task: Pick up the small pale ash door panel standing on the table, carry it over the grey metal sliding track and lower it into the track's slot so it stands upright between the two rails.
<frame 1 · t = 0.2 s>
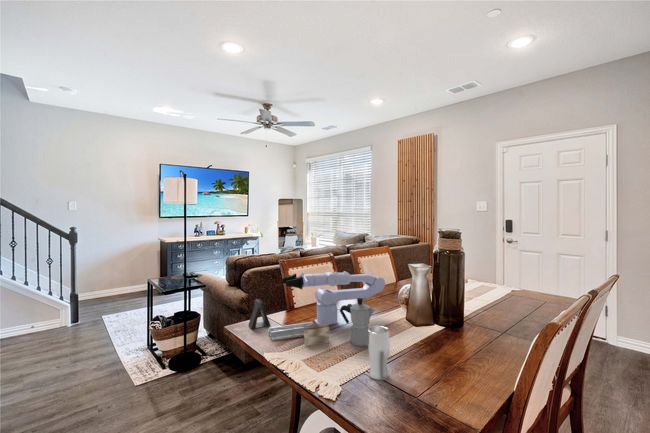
hand: (284, 282, 137), 21 cm above the table, tool horizontal, fingers open, 7 cm apart
track: (292, 333, 132), on the table
coffee maker: (357, 342, 123), on the table
door panel: (316, 343, 122), on the table
beer glass: (378, 375, 98), on the table
phone stand: (259, 326, 142), on the table
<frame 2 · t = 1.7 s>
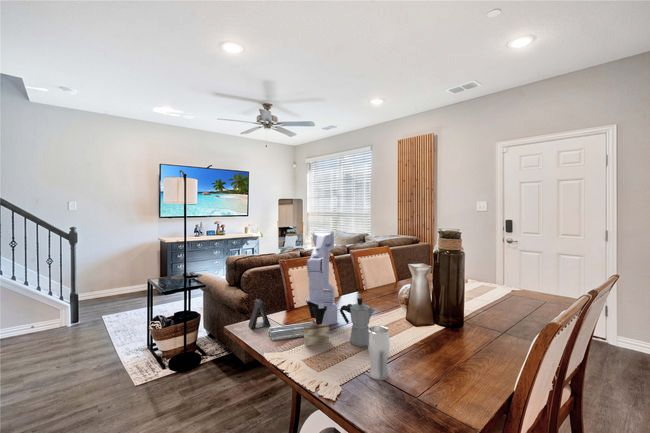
hand: (316, 320, 122), 9 cm above the table, tool pointing down, fingers open, 7 cm apart
nothing on the table moved.
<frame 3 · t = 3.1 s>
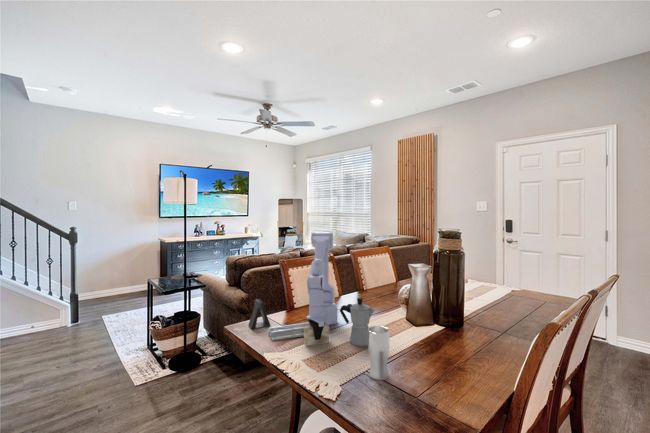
hand: (316, 337, 122), 2 cm above the table, tool pointing down, fingers closed on door panel, 2 cm apart
door panel: (316, 342, 122), on the table, touching gripper
everything else where it was.
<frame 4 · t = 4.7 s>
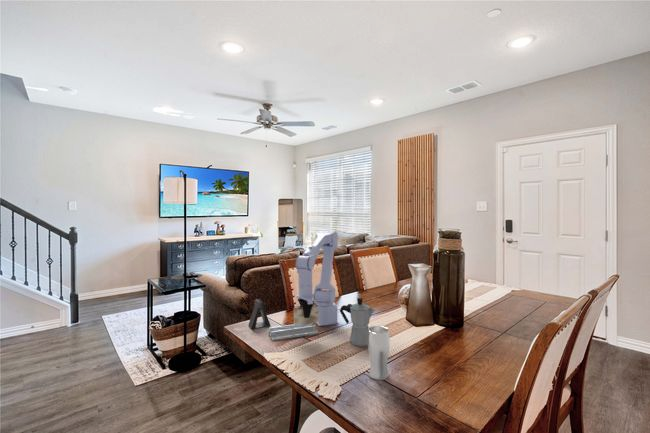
hand: (305, 316, 126), 9 cm above the table, tool pointing down, fingers closed on door panel, 2 cm apart
door panel: (306, 322, 127), point 7 cm above the table, touching gripper
everything else where it was.
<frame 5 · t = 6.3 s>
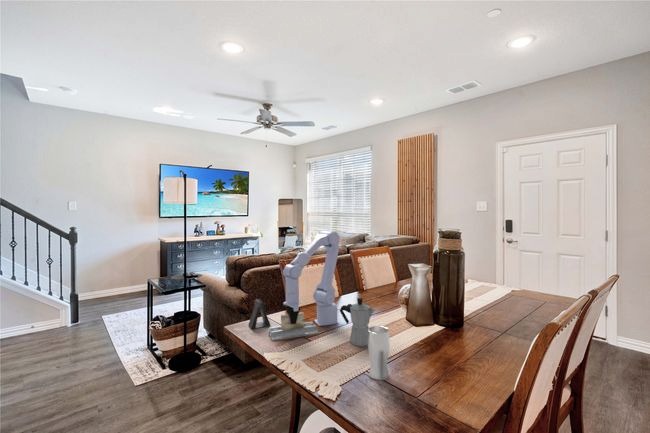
hand: (292, 322, 132), 5 cm above the table, tool pointing down, fingers closed on door panel, 2 cm apart
door panel: (292, 330, 132), point 1 cm above the table, touching gripper
everything else where it was.
when the fingers open (4 cm above the table, at t = 6.7 s): door panel stays where it is, resting on track.
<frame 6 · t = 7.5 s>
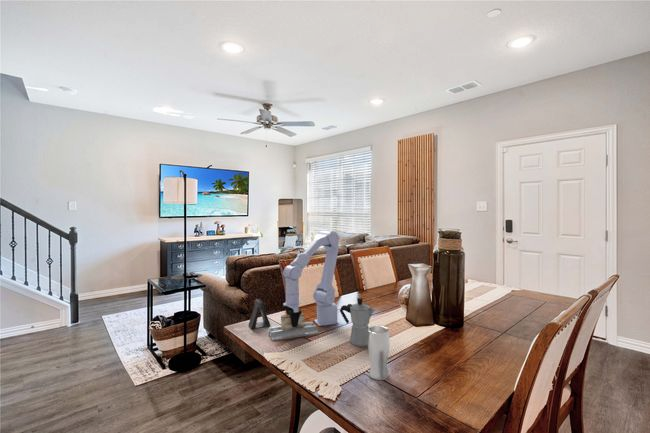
hand: (292, 323, 132), 4 cm above the table, tool pointing down, fingers open, 7 cm apart
door panel: (293, 330, 132), point 1 cm above the table, touching track
everything else where it was.
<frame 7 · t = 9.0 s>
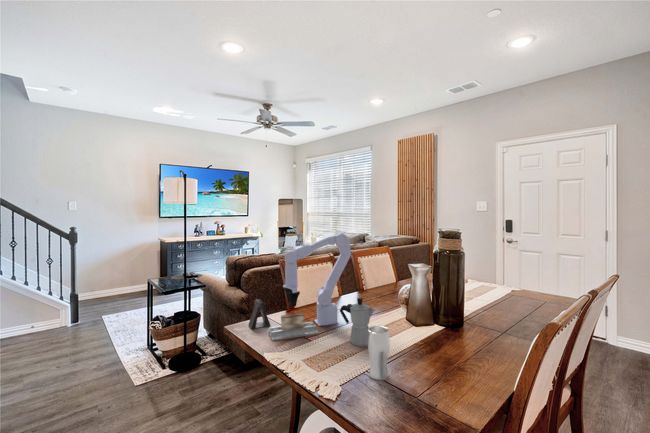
hand: (291, 304, 143), 9 cm above the table, tool pointing down, fingers open, 7 cm apart
nothing on the table moved.
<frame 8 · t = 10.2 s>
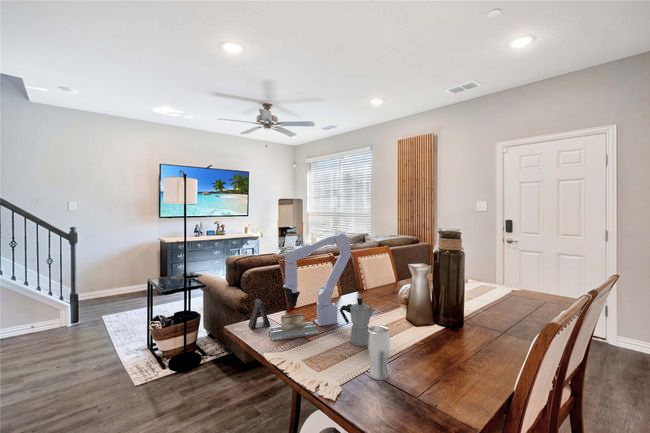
hand: (291, 304, 143), 9 cm above the table, tool pointing down, fingers open, 7 cm apart
nothing on the table moved.
at the end: door panel inside the target area on the track (0.0 cm from its centre), point 1.0 cm above the track's base; door panel tilted 0°; the gripper is holding nothing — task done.
